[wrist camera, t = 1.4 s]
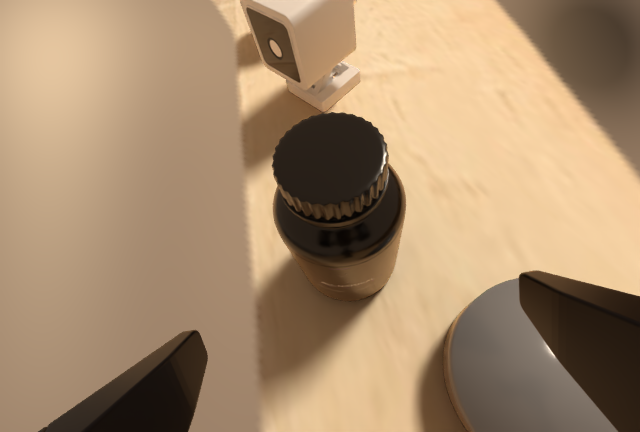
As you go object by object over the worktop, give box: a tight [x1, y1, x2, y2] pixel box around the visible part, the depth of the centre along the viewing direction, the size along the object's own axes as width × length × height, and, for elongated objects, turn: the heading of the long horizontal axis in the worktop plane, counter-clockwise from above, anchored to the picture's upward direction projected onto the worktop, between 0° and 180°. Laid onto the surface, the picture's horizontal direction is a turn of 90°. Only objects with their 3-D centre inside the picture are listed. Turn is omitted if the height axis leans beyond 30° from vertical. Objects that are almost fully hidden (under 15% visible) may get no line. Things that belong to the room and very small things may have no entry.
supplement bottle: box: [272, 112, 406, 301], centre depth 18 cm, size 7×7×12 cm
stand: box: [443, 278, 618, 432], centre depth 16 cm, size 10×10×3 cm
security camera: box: [240, 0, 360, 112], centre depth 27 cm, size 6×7×10 cm
